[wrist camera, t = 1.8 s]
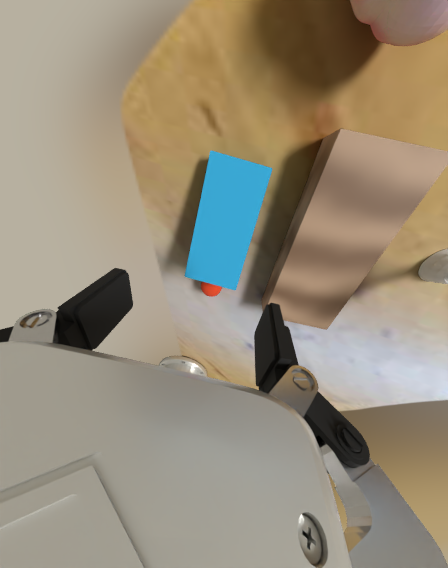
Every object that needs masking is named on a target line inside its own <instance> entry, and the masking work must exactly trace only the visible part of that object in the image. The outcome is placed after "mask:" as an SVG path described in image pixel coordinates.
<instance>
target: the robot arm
mask: <svg viewBox="0 0 448 568" xmlns="http://www.w3.org/2000/svg"><path fill="white" fill-rule="evenodd" d="M132 306H133V301H132V294H131V288H130V281H129V275H128V273H126V271H125V270H122V269H118V268H114V269H113V270H111V271H110V272H108V273H107V274H106V275H104V276H103V277H101V278H100V279H98V280H97V281H95V282H94V283H92V284H91V285H90V286H88V287H87V288H85V289H84V290H82V291H81V292H80V293H78V294H76V295H75V296H74V297H72V298H71V299H69V300H68V301H66V302H65V303H63V304H62V305H61V306H59V307H58V309H59V310H58V311H57V312H55V311H53V310H50V309H42V310H36V311H33V312H30V313H28V314H25V315H24V316H22V317H21V318H19V319H18V320H17V321H16V323H15V325H14V326H13V327H9V328H5V329H1V330H0V568H448V565H447V563H446V560H445V558H444V556H443V554H442V552H441V550H440V548H439V547H438V545H437V544H436V542H435V540H434V539H433V537H432V536H431V535H430V533H429V532H428V531H427V529H426V528H425V527H424V525H423V524H422V523H421V521H420V520H419V519H418V517H417V516H416V515H415V513H414V512H413V510H412V509H411V508H410V507H409V505H408V504H407V502H406V501H405V500H404V498H403V497H402V496H401V494H400V493H399V492H398V490H397V489H396V487H395V486H394V485H393V484H392V482H391V481H390V479H389V478H388V477H387V475H386V474H385V473H384V471H383V470H382V469H381V467H380V466H379V465H378V464H376V465H375V464H374V463H373V461H372V460H371V458H370V454H369V449H368V446H367V444H366V442H365V440H364V438H363V437H362V435H361V434H360V433H359V431H358V430H357V429H356V428H355V427H354V426H353V425H352V424H351V423H350V422H349V421H348V420H347V419H346V418H345V417H344V416H342V415H341V413H340V412H339V411H337V410H336V409H335V408H334V407H333V406H332V405H331V404H330V403H329V402H328V401H327V400H326V399H325V398H324V397H323V396H322V395H321V394H320V393H319V392H318V383H317V380H316V378H315V377H314V375H313V374H312V373H311V372H310V371H309V370H307V369H306V368H304V367H302V366H299V365H298V361H297V358H296V354H295V350H294V346H293V342H292V338H291V334H290V330H289V328H288V327H287V326H284V321H283V317H282V313H281V308H280V305H279V304H275V303H270V304H267V305H266V307H265V309H264V311H263V314H262V316H261V319H260V321H259V323H258V326H257V328H256V331H255V335H254V339H255V371H256V386H259V390H256V389H253V388H249V387H246V386H242V385H238V384H234V383H230V382H226V381H222V380H218V379H214V378H210V377H207V372H206V370H205V368H204V367H203V366H202V365H201V364H199V363H198V362H197V361H195V360H193V359H190V358H187V357H183V356H170V357H167V358H164V359H163V360H162V361H161V362H160V364H159V366H157V365H153V364H149V363H144V362H140V361H135V360H131V359H127V358H122V357H117V356H113V355H108V354H104V353H99V352H95V351H92V350H93V349H95V348H97V347H98V346H99V344H100V343H101V342H102V341H103V340H104V339H105V338H106V337H107V335H108V334H109V333H110V332H111V331H112V330H113V329H114V328H115V326H116V325H117V324H118V323H119V322H120V321H121V320H122V319H123V317H124V316H125V315H126V314H127V313H128V312H129V311H130V310H131V308H132ZM328 474H330V476H331V478H332V479H333V481H334V483H335V485H336V487H335V489H336V491H337V493H338V495H339V496H340V498H341V500H342V503H343V505H344V507H345V510H346V515H347V528H346V530H345V532H344V533H343V529H342V525H341V521H340V518H339V513H338V510H337V506H336V502H335V498H334V494H333V490H332V487H331V483H330V480H329V477H328ZM301 514H302V515H301Z"/></svg>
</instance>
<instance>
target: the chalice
mask: <svg viewBox="0 0 448 568" xmlns="http://www.w3.org/2000/svg"><path fill="white" fill-rule="evenodd" d="M419 277H420V278H421V279H422V280H425V281H429V282H435V283H442V284H448V249H444V250H442V251H439V252H436V253H435V254H433V255H431V256H430V257H429V258H427V259H426V260H425V261H424V262H423V263H422V265H421V266H420V269H419Z"/></svg>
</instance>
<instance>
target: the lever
mask: <svg viewBox="0 0 448 568" xmlns="http://www.w3.org/2000/svg"><path fill="white" fill-rule="evenodd" d="M271 172H272V168H270V167H266V166H263V165H259V164H256V163H252V162H249V161H246V160H242V159H239V158H235V157H232V156H228V155H225V154H221V153H218V152H214V151H210V155H209V160H208V165H207V170H206V175H205V180H204V185H203V189H202V194H201V199H200V204H199V209H198V214H197V219H196V223H195V228H194V233H193V238H192V243H191V248H190V252H189V257H188V262H187V267H186V272H185V277H188V278H191V279H195V280H199V281H202V283H201V289H202V291H203V293H204V294H205V295H207V296H216V295H217V294H219V293H220V291H221V289H222V287H225V288H228V289H232V290H236V287H237V284H238V281H239V278H240V274H241V271H242V268H243V264H244V261H245V258H246V254H247V251H248V248H249V245H250V241H251V238H252V235H253V231H254V228H255V225H256V221H257V218H258V215H259V211H260V208H261V205H262V202H263V198H264V195H265V192H266V188H267V185H268V182H269V178H270V175H271Z"/></svg>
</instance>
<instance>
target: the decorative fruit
mask: <svg viewBox="0 0 448 568" xmlns="http://www.w3.org/2000/svg"><path fill="white" fill-rule="evenodd" d="M350 2H351V6H352V9H353V12H354V14H355V16H356V18H357V19H358V20H359V21H360V22H362V23H365V24H368V25H370V26H371V29H372V32H373V35H374V36H375V38H376V39H377V40H379V41H380V42H383V43H386V44H391V45H395V46H411V45H417V44H420V43H423V42H426V41H428V40H430V39H433V38H434V37H436V36H438V35H440V34H441V33H443V32H444V31H446V30H447V29H448V0H350Z"/></svg>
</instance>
